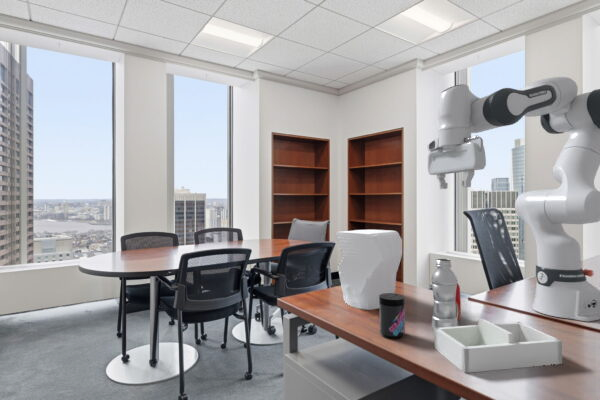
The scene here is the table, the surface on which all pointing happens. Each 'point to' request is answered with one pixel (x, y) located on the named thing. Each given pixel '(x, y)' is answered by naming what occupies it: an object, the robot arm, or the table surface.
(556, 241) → the robot arm
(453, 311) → the plastic bottle
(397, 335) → the supplement container
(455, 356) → the divided tray
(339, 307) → the table surface
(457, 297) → the soda can
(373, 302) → the white faceted vase
